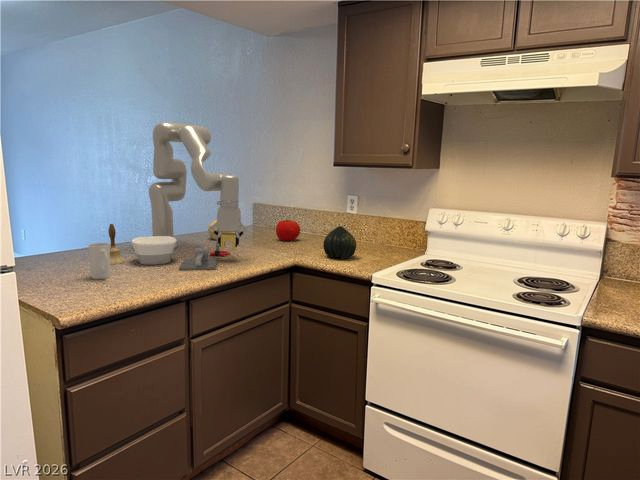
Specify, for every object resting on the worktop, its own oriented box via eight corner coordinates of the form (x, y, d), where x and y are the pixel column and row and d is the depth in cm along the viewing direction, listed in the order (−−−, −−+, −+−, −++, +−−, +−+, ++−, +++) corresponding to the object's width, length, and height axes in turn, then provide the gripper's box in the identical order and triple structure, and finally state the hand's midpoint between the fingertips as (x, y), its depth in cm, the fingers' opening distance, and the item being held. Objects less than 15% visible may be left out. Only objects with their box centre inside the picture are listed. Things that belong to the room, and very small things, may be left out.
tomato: (278, 238, 253) (278, 217, 251) (301, 239, 252) (302, 218, 250) (273, 241, 241) (273, 220, 239) (297, 243, 240) (298, 221, 238)
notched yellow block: (220, 249, 189) (220, 235, 187) (221, 245, 196) (222, 231, 195) (235, 249, 190) (235, 235, 188) (235, 245, 197) (236, 232, 196)
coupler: (178, 270, 175) (178, 257, 174) (185, 260, 192) (185, 248, 191) (215, 270, 177) (215, 257, 176) (218, 259, 195) (218, 248, 194)
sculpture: (209, 237, 250) (209, 218, 248) (231, 237, 251) (231, 218, 249) (206, 241, 238) (206, 220, 237) (229, 241, 240) (229, 221, 238)
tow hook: (215, 252, 211) (207, 255, 202) (215, 225, 210) (208, 227, 201) (232, 254, 210) (225, 257, 201) (233, 226, 209) (226, 228, 199)
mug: (87, 276, 162) (85, 244, 160) (107, 273, 167) (105, 242, 165) (97, 282, 155) (95, 248, 153) (117, 279, 160) (115, 246, 158)
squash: (338, 250, 194) (352, 223, 199) (312, 247, 204) (327, 220, 209) (353, 268, 203) (366, 241, 208) (328, 264, 213) (341, 238, 218)
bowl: (131, 258, 193) (130, 237, 191) (175, 256, 200) (174, 235, 198) (132, 267, 177) (131, 244, 175) (179, 264, 184) (178, 242, 182)
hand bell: (101, 265, 180) (98, 225, 177) (105, 260, 188) (102, 222, 185) (123, 264, 182) (121, 225, 180) (126, 259, 190) (124, 222, 187)
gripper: (207, 204, 184) (207, 247, 188) (250, 206, 187) (248, 248, 191) (209, 202, 192) (208, 243, 195) (250, 204, 194) (248, 245, 198)
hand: (228, 245), depth 193 cm, fingers closed on notched yellow block, 6 cm apart
